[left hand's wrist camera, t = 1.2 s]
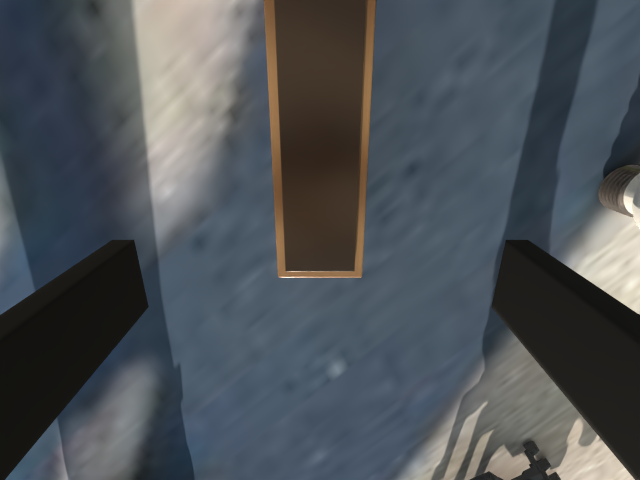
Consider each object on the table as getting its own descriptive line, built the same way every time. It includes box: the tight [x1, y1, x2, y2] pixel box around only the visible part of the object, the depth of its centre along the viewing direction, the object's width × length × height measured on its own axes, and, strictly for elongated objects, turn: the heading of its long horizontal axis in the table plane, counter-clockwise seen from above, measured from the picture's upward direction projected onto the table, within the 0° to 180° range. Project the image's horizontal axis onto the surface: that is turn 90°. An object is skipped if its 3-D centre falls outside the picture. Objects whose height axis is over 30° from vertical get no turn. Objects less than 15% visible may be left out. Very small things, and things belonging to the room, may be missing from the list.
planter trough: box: [264, 0, 376, 277], centre depth 20 cm, size 28×5×10 cm, turn 0°
